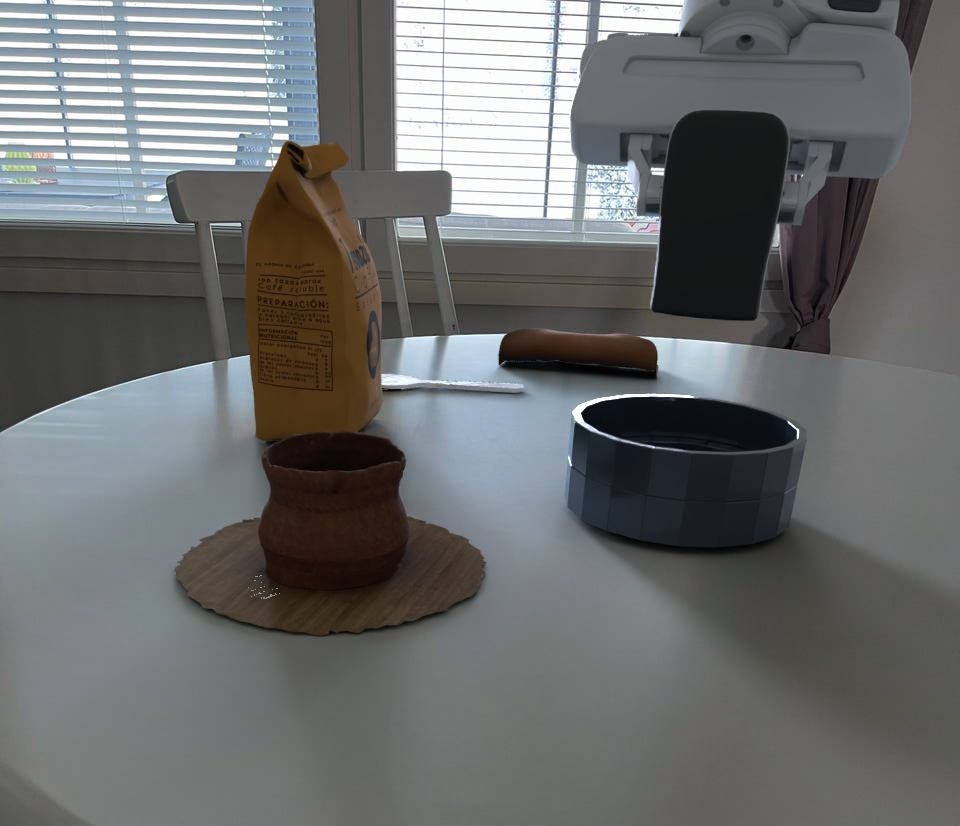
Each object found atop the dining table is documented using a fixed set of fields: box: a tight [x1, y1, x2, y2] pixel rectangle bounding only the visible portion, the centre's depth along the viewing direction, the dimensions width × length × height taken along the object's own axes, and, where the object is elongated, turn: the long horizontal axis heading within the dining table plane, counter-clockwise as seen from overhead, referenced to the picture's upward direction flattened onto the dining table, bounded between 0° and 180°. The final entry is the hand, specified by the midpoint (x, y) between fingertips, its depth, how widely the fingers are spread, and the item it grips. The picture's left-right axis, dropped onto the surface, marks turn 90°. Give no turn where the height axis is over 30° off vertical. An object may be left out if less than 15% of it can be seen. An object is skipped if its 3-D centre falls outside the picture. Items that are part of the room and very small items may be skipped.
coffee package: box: [245, 140, 384, 442], centre depth 75 cm, size 10×12×22 cm
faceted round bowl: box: [564, 393, 808, 548], centre depth 63 cm, size 15×15×6 cm
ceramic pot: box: [174, 431, 488, 637], centre depth 53 cm, size 18×18×7 cm
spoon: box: [381, 373, 525, 394], centre depth 96 cm, size 5×18×1 cm, turn 87°
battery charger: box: [649, 109, 790, 323], centre depth 57 cm, size 7×4×11 cm, turn 73°
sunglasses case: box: [497, 327, 660, 379], centre depth 107 cm, size 18×7×7 cm
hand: (719, 213), depth 56 cm, fingers closed on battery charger, 7 cm apart
